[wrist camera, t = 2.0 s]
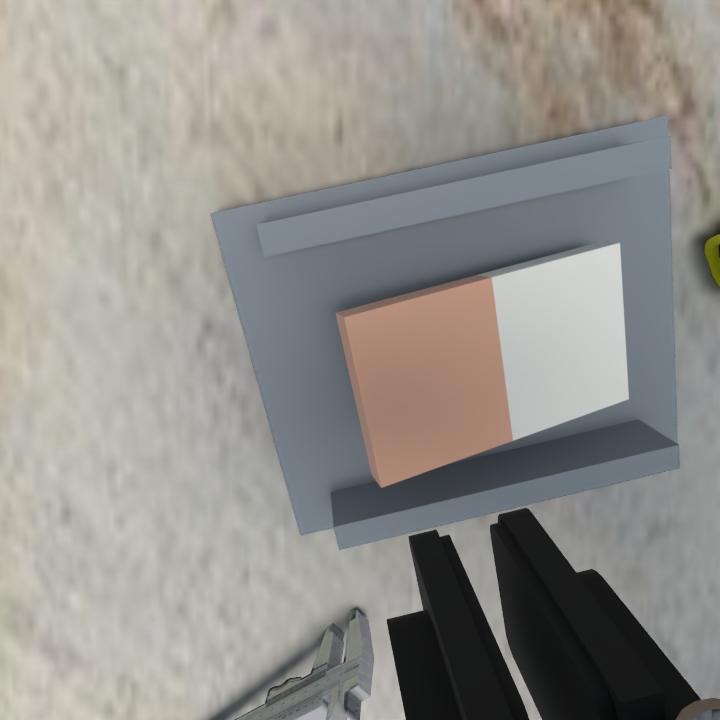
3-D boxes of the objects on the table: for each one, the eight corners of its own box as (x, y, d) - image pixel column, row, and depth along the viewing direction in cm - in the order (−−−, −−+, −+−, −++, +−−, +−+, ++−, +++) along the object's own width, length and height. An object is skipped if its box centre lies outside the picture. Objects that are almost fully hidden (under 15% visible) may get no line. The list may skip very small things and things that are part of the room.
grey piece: (639, 122, 25) (720, 102, 20) (653, 430, 29) (721, 473, 24) (218, 213, 24) (196, 214, 19) (300, 513, 28) (299, 575, 24)
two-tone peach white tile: (598, 242, 23) (620, 242, 21) (609, 391, 25) (628, 399, 23) (335, 312, 20) (343, 317, 19) (371, 474, 22) (381, 488, 21)
